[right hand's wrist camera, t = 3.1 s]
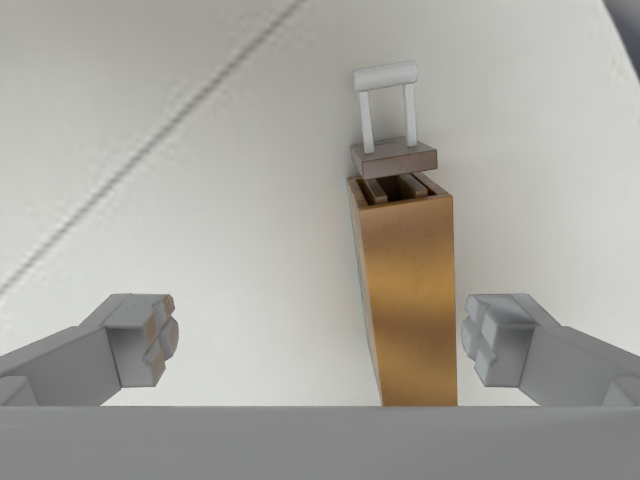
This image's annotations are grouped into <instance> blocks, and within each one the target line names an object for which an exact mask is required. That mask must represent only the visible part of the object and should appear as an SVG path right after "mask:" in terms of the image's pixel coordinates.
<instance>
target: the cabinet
mask: <svg viewBox="0 0 640 480" xmlns="http://www.w3.org/2000/svg"><path fill="white" fill-rule="evenodd" d="M409 174H410V175H411V176H412V177H413V178H415V179H416V180H417V181H418V182H419V183H420V184H422V185H423V186H424V187H425V188H426V189H427V190H428V197H421V198H415V199H409V200H402V201H396V202H389V203H383V204H377V205H370V206H368V204H367V202H366V200H365V196H364V187H363V179H362V176H360V177H354V178H346V181H347V188H348V196H349V203H350V211H351V218H352V226H353V233H354V241H355V248H356V256H357V263H358V271H359V278H360V286H361V293H362V301H363V309H364V316H365V324H366V331H367V339H368V346H369V350H370V354H371V359H372V363H373V368H374V372H375V377H376V382H377V386H378V391H379V395H380V400H381V404H382V406H457V364H456V321H455V277H454V234H453V197H452V195H450V194H449V193H448V192H446V191H445V190H444V189H443V188H441V187H440V186H439V185H437V184H436V183H435V182H433V181H432V180H431V179H429V178H428V177H427V176H425V175H424V174H423V173H421V172H414V173H409Z"/></svg>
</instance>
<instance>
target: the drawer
mask: <svg viewBox="0 0 640 480" xmlns="http://www.w3.org/2000/svg"><path fill="white" fill-rule="evenodd" d="M417 79H418V66H417V62H416V61H415V60H411V61H405V62H399V63H393V64H387V65H382V66H376V67H370V68H364V69H359V70H354V71H353V84H354V90H355V92H358V96H359V105H360V114H361V123H362V132H363V141H364V144H357V145H351V146H350V148H351V156H352V161H353V162H354V164H355V166H356V168H357V169H358V171H359V173H360V175H361V176H362V179H363V187H364V196H365V200H366V202H367V204H368V206H370V205H377V204H383V203H389V202H396V201H402V200H409V199H415V198H421V197H428V190H427V189H426V188H425V187H424V186H423V185H422V184H420V183H419V182H418V181H417V180H416V179H415V178H413V177H412V176H411V175H410V174H409V173H414V172H420V171H427V170H433V169H437V168H438V166H437V150H436V149H434V148H432V147H429V146H427V145H425V144H423V143H421V142H419V141H417V128H416V111H415V93H414V82H416V81H417ZM402 84H403V95H404V110H405V124H406V137H400V138H394V139H388V140H382V141H376V142H373V133H372V123H371V113H370V103H369V93H368V91H367V90H373V89H379V88H385V87H391V86H397V85H402Z"/></svg>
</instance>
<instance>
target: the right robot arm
mask: <svg viewBox="0 0 640 480" xmlns="http://www.w3.org/2000/svg"><path fill="white" fill-rule="evenodd" d="M174 309H175V306H174V301H173V298H172V296H171V295H170V294H132V293H123V294H111V295H110V296H109V297H108V298H107V299H106V300H105V301H104V302H103V303H102V304H101V305H100V306H99V307H98V308H97V309H96V310H95V311H94V312H92V313H91V314H90V315H89V316H88V317H87V318H86V319H85V320H84V321H83V322H82V323H81V324H80V325H79V326H72V327H69V328H67V329H64V330H62V331H60V332H57V333H55V334H53V335H50V336H48V337H46V338H43V339H41V340H38V341H36V342H34V343H31V344H29V345H27V346H24V347H22V348H19V349H17V350H15V351H12V352H10V353H8V354H5V355H3V356H1V357H0V480H640V357H639V356H637V355H635V354H632V353H630V352H627V351H625V350H623V349H620V348H618V347H616V346H613V345H611V344H609V343H606V342H604V341H601V340H599V339H597V338H594V337H592V336H590V335H587V334H585V333H583V332H580V331H578V330H576V329H573V328H571V327H568V326H561V325H560V324H559V323H558V322H557V321H556V320H555V319H554V318H553V317H552V316H551V315H550V314H549V313H548V312H547V311H546V310H544V309H543V308H542V307H541V306H540V305H539V304H538V303H537V302H536V301H535V300H534V299H533V298H532V297H531V296H530V295H528V294H525V293H517V294H477V295H469V296H468V298H467V300H466V305H465V309H466V311H467V313H468V314H469V316H468V317H467V318H466V319H465V320H464V321H463V323H462V330H461V337H462V344H463V348H464V351H465V352H466V354H467V356H468V357H469V358H471V359H472V360H474V361H475V367H474V369H475V370H476V372H477V374H478V376H479V377H480V379H481V381H482V383H483V384H484V386H485V387H511V388H519V390H520V391H522V392H523V393H524V394H526V395H527V396H528V397H530V398H531V399H532V400H534V401H535V402H536V403H537V404H539V405H540V406H100V405H101V404H103V403H104V402H105V401H107V400H108V399H109V398H111V397H112V396H113V395H114V394H116V393H117V392H118V391H120V390H121V388H129V387H155V386H156V385H157V383H158V381H159V379H160V378H161V376H162V374H163V372H164V370H165V369H166V367H165V361H166V360H168V359H169V358H171V357H172V356H173V354H174V352H175V350H176V348H177V344H178V339H179V329H178V323H177V321H176V320H175V319H174V318H173V317H172V316H171V314H172V313H173V311H174Z"/></svg>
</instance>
